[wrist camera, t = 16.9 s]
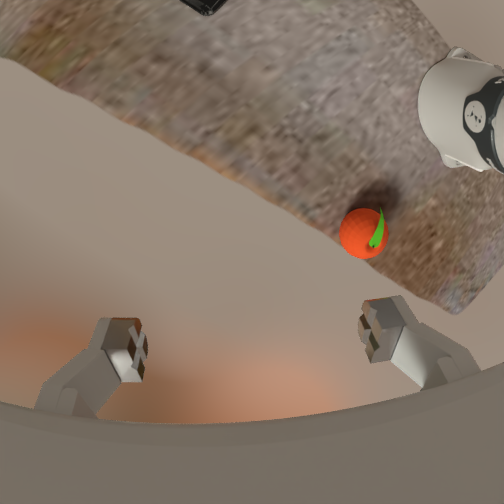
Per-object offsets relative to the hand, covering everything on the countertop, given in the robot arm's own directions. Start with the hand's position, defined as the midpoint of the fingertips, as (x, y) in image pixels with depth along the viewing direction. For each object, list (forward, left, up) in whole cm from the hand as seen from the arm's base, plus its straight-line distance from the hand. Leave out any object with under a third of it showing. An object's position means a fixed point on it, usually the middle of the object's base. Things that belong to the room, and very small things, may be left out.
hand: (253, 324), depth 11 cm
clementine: (-17, +12, -31) cm, 38 cm away
